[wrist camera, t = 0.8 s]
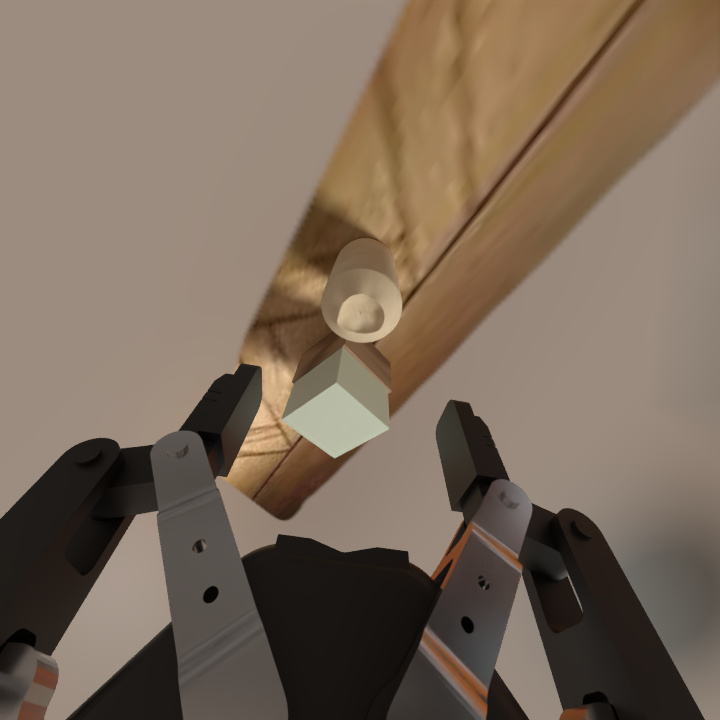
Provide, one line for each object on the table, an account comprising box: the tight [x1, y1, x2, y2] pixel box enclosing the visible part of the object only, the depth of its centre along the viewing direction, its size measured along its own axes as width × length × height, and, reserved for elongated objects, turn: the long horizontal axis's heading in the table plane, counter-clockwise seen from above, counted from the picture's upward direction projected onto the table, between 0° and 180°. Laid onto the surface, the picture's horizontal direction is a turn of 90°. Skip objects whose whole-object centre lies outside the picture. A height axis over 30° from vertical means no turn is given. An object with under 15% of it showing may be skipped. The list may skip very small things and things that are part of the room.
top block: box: [281, 347, 390, 458], centre depth 27 cm, size 6×6×5 cm
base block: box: [292, 332, 392, 394], centre depth 31 cm, size 7×7×5 cm
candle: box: [321, 238, 402, 343], centre depth 23 cm, size 6×6×10 cm
